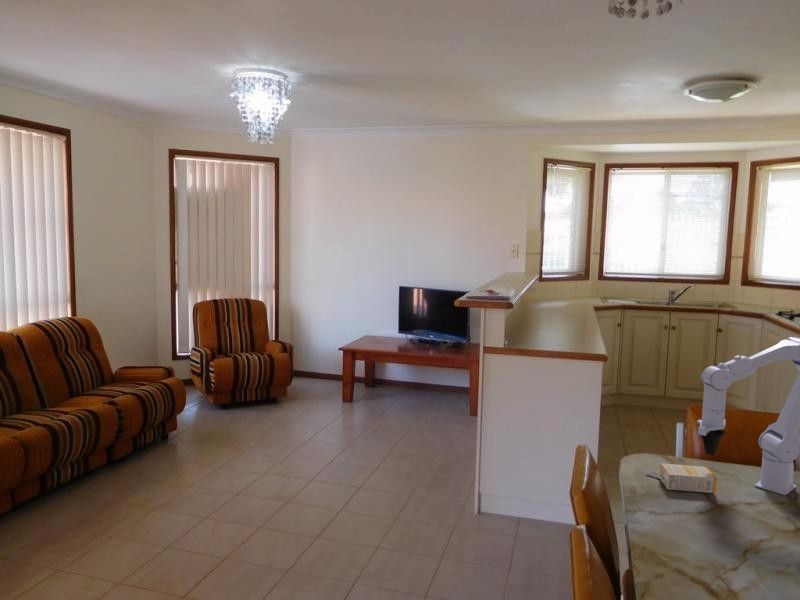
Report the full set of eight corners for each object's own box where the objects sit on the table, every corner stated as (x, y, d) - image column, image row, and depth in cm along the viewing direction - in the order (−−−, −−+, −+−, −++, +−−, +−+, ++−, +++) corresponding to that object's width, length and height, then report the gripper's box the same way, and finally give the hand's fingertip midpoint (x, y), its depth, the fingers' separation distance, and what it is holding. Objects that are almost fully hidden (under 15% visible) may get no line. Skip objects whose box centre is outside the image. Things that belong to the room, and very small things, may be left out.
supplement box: (705, 482, 173) (658, 478, 175) (707, 466, 173) (659, 462, 175) (715, 494, 165) (666, 490, 167) (717, 478, 165) (667, 473, 167)
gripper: (709, 401, 177) (706, 445, 179) (688, 409, 168) (685, 456, 169) (734, 406, 172) (731, 451, 173) (714, 415, 162) (711, 463, 164)
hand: (710, 454), depth 171 cm, fingers closed
